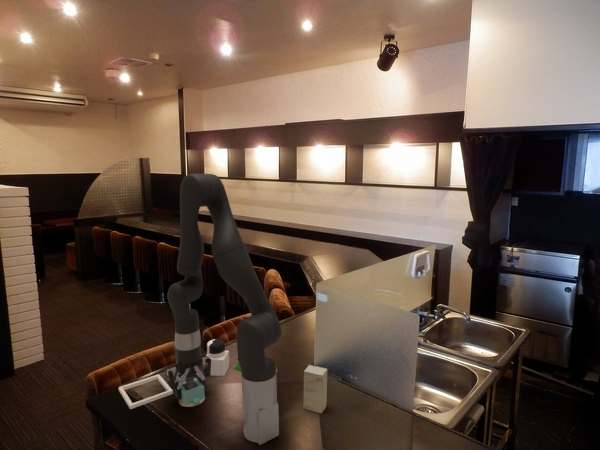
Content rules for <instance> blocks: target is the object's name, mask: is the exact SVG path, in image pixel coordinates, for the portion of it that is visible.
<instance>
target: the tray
mask: <svg viewBox="0 0 600 450" xmlns="http://www.w3.org/2000/svg"><path fill="white" fill-rule="evenodd" d="M155 380H156V381H158V382H159V384H161V386H162V387H163V389H165V391H163V392H160V393H157V394H154V395H153V396H149V397H145V398H144V399H141V400H138V401H135V402H132V400H131V399H130V397H129V396H128V395H129V394H127V392H126V391H125V390H130V389H132V388H135V387H138V386H141V385H144V384H147V383H150V382H153V381H155ZM118 392H119V393H120V395H121V396H122V398H123V399H124V401H125V403H126V405H127V407H128V408H129V409H130V410H132V409H136V408H137V407H141V406H143V405H146V404H149V403H151V402H154V401H157V400H159V399H162V398H165V397H168V396H171V395H174V389H173V390H172V389H171V388H170V387H169V386H168V382H167V381H166V380H165V379H164V378H163V377H162V376H161V375H160V374H156V375H152V376H149V377H146V378H142V379H139V380H137V381H134V382H131V383H127V384H124V385H121V386H118Z"/></svg>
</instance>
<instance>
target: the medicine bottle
mask: <svg viewBox="0 0 600 450" xmlns="http://www.w3.org/2000/svg"><path fill="white" fill-rule="evenodd" d="M225 345H226V341H224V340H223V339H222V338H221V339H220V338H214V339H211V340H209V341H208V342H207V343H206V348H207V351H206V352H207V354H205V356H208V357H209V358H210V359H211V373H210V376H212V377H213V376H215V377H218V376H219V377H224V376H225V375H226V373H227V372H228V370H229V368H230V351H229V350H226V346H225Z"/></svg>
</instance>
